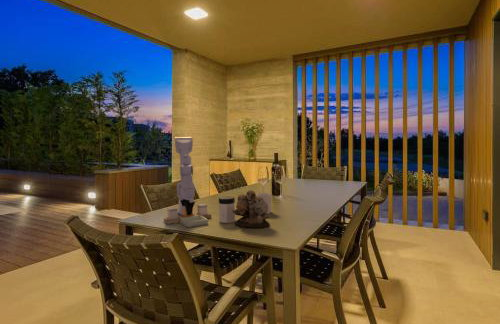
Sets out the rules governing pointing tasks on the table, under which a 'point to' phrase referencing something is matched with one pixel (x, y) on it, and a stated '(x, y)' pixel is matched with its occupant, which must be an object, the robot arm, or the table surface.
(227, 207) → the jar
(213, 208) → the table surface
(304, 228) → the table surface
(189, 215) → the block
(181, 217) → the rack
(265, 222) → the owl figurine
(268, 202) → the mug
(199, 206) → the block
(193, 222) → the tray
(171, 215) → the white fuse
